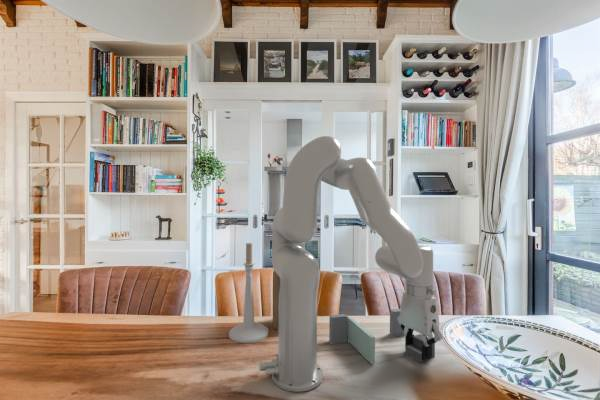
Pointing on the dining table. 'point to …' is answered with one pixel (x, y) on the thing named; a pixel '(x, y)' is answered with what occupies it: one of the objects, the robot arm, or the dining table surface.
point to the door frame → (340, 327)
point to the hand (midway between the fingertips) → (418, 353)
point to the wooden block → (276, 300)
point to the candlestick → (248, 310)
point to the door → (361, 339)
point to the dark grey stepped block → (417, 348)
